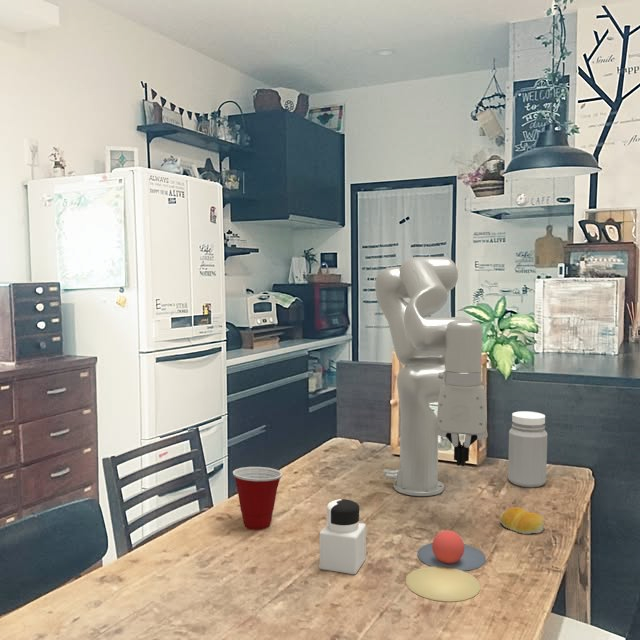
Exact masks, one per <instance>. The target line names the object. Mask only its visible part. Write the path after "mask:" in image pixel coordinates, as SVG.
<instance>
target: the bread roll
mask: <svg viewBox="0 0 640 640" xmlns="http://www.w3.org/2000/svg"><path fill="white" fill-rule="evenodd" d="M499 521H500V523H501V525H502V526H503V528H505V527H506V528H505V529H507V528H508V529H507V530H509V529H511V531H513V532H515V531H516V532H515V533H518V532H519V533H518V534H521V533H522V534H521V535H532V534H531V533H536V534H540V533H542V532H543V531H544V528H545V527H544V526H545V521H544V519H543V517H542V516H540V515H539V513H536V512H529V511H527V510H525V509H524V508H522V507H519V506H514V507H510V508H508V509H506V510H505V511H504V512H503V513H501V515H500V517H499Z"/></svg>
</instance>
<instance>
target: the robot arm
mask: <svg viewBox="0 0 640 640" xmlns="http://www.w3.org/2000/svg"><path fill="white" fill-rule="evenodd" d="M458 272H459V271H458V268H457V265H456V263H455V262H454V261H453V260H452V259H451V258H450V257H447V256H413V257H410V258H407V259H405V260H404V261H403V262H402V263H401V265H400V266H391V267H387V268H384V269H382V270H380V271H379V272H378V273H377V275H376V277H375V287H374V288H375V295H376V300H377V303H378V306H379V307H380V310H381V312H382V314H383V315H384V317H385V319H386V321H387V323H388V326H389V330H390V335H391V340H392V344H393V348H394V352H395V355H396V358H397V360H398V362H399V363H400V364H402V365H404V367H403V368H402V369H401V368H400V370H399V371H398V374H397V377H396V386H397V394H398V399H399V411H400V412H399V414H400V415H399V417H400V419H399V422H400V423H399V425H400V426H399V427H400V428H399V429H400V431H399V468H396V469H390V468H384V469H383V470H382V472H383V473H382V475H383V477H385V479H389V480H394V481H393V489H394V490H395V491H396V492H398V493H401V494H403V495H408V496H413V497H414V496H415V497H430V496H436V495H439V494H441V493H443V492H444V489H445V487H444V486H445V485H444V483H443V482H442V481H440V480H439V479H438V478H439V477H438V472H439V469H438V467H439V465H438V464H439V437H443V438H446V439H447V440H448V442H450V443H451V444H452V446H453V460H454V461H456V466H462V467H465V466H466V463H467V462H469V459H470V446H472V445H473V443H475V442H476V441H479V440H480V441H481V440H485V439H488V436H489V435H488V429H487V424H488V411H487V409H488V408H487V398H486V391H485V385H482V358H483V357H482V355H483V353H482V352H483V347H482V346H483V326H482V325H481V323H480V322H478V321H475V320H471V319H470V318H467V317H464V316H462V317H460V316H456V317H455V316H452V317H451V316H434V317H431V315H433V314H435V313H438V311H440V310H441V309H443V307H444V306H445V305H446V303H447V301H448V292H450V291H451V290H453V289H454V288H455V287H456V285H457V283H458V279H459V273H458ZM404 299H410V300H409V301H408V302H407V301H406V300H404ZM429 316H430V317H429ZM431 403H432V404H433V403H434V404H435V403H437V411H436V412H437V413H435V412H434V411H433V410H432V408H431V407H430V404H431ZM436 414H437V415H436ZM460 435H464V442H461V441H460Z"/></svg>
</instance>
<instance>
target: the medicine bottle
mask: <svg viewBox="0 0 640 640" xmlns="http://www.w3.org/2000/svg"><path fill="white" fill-rule="evenodd" d="M366 535H367V525H366V523H363V522H362V523H361V522H360V505H359V503H357V502H356V501H354V500H351V499H345V498H340V499H334V500H332V501H329V503H328V504H327V506H326V525H325V526H324V527H323V528H322V529H321V531H320V532H319V549H318V551H319V553H318V554H319V559H318V561H319V564H318V565H319V569H320V570H323V571H330V572H337V573H343V574H350V575H356V574H357V573H358V571H359V570H360V568H361V567H362V565H363V564H364V563H365V561H366V559H367V556H366V555H367V554H366V553H367V551H366V550H367V545H366V544H367V536H366Z"/></svg>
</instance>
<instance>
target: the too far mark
mask: <svg viewBox="0 0 640 640" xmlns="http://www.w3.org/2000/svg"><path fill="white" fill-rule="evenodd" d="M437 567H438V566H436V567H435V566H434V567H431V566H426V567H421V568H417V569H414V570H413V571H412V570H411V572H410V573H408V574H407V576H406V577H405V583H406V584H405V585H406V587H407V588H408V589H409V591H411V592H412V593H414V594H415V595H417V596H419V597H421V598H424V599H427V600H431V601H436V602H446V603H448V602H449V603H455V602H463V601H467V600H470V599H472V598H474V597H476V596H477V595H478V594H479V593H480V591H481V584H480V582H479V579H477V578H476V577H475V576H474V575H473V574H470V573H469V572H468V571H461V570H458V569H454V568H447V567H444V569H442V568H443V567H438V568H437ZM446 568H447V569H446ZM449 569H450V570H449Z"/></svg>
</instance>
